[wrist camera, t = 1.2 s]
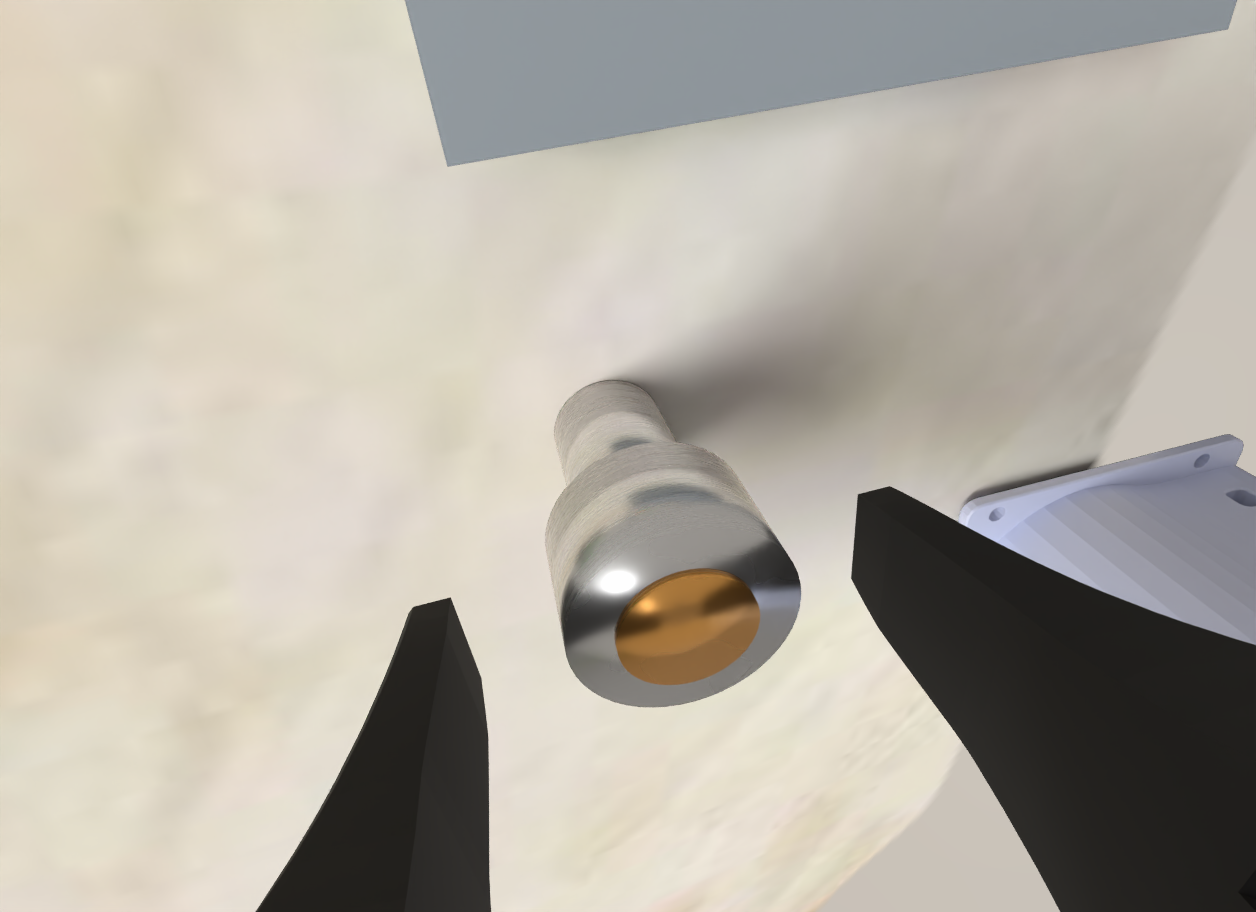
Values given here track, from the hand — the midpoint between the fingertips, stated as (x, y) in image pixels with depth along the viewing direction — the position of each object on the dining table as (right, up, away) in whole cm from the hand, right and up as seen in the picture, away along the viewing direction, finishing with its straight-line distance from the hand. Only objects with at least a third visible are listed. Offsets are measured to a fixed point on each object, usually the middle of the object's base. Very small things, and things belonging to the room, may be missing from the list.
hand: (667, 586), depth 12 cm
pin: (-1, +3, +5) cm, 6 cm away
